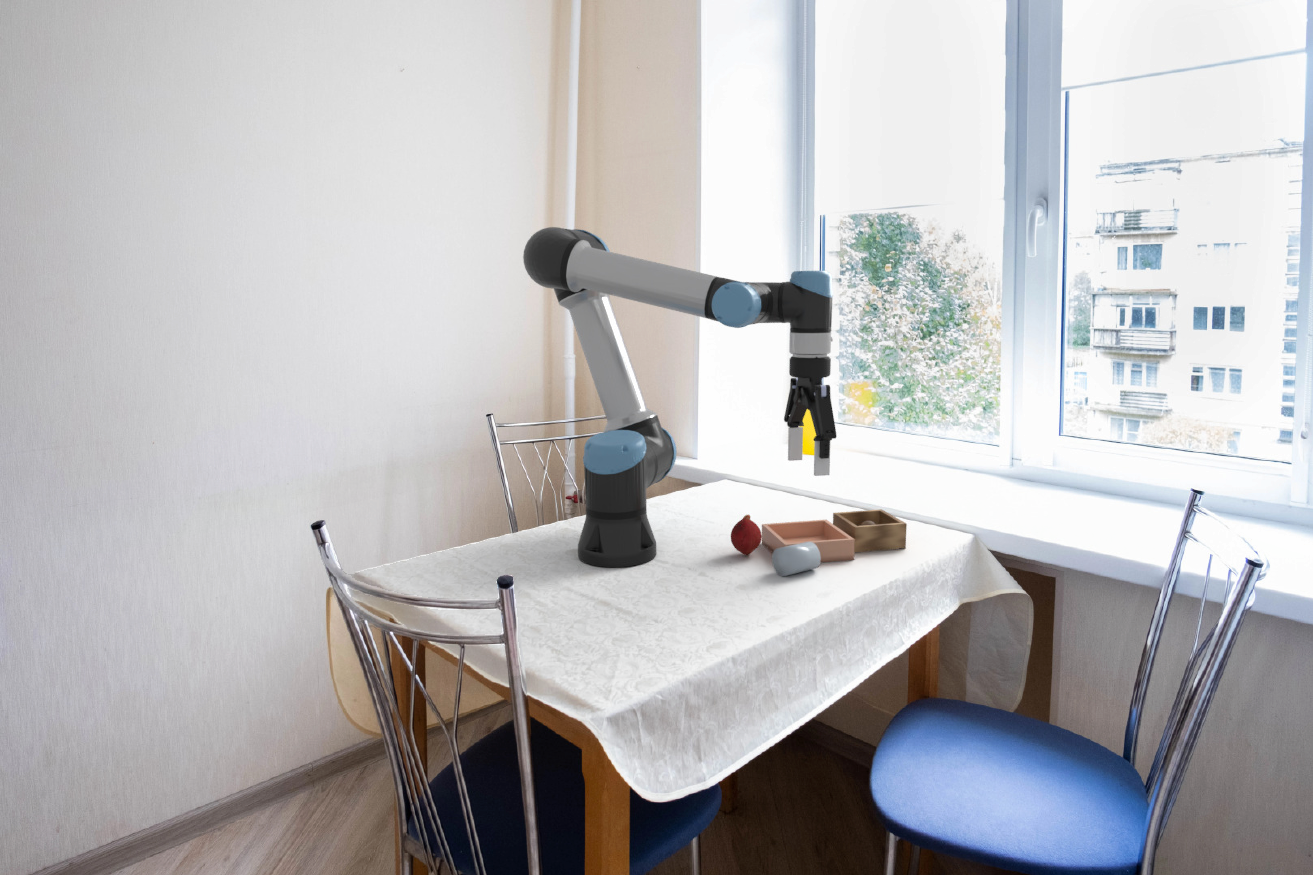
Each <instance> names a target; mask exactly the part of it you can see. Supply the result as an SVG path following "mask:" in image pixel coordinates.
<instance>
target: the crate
mask: <svg viewBox="0 0 1313 875" xmlns="http://www.w3.org/2000/svg"><path fill="white" fill-rule="evenodd" d="M864 521H872V522H874V523H875V524H876V525H864V526H860V525H861V524H862V523H863V522H864ZM832 524H833V525H835V526H836V527H838V528H839V529H841V530H842V531H843V532H845V533H846V534H848V535H849V536H851V537H852V538H853V539H855V546H854V553H866V552H877V551H889V550H891V549H892V550H900V549H899V548H904V549H907V548H906V546H907V526H908V524H907V523H906V522H904V521H903V520H901V519H899V518H897V517H896V516H894V515H892V514H890V513H889V512H887V511H885V510H883V508H881V509H871V510H870V509H869V510H853V511H841V512H840V511H839V512H833V513H832Z"/></svg>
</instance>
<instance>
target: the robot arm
mask: <svg viewBox="0 0 1313 875" xmlns="http://www.w3.org/2000/svg"><path fill="white" fill-rule="evenodd" d="M522 260H523V265H524V269H525V270H526V272H527V275H528V276H529V277H530V279H531V280H532V281H533V282H535V284H537V285H539V286H540V287H543V288H547V289H553V291H554V293H555V296H556V299H557V302H558V305H559V306H561V307H563V308H564V309H566V310H568V311H569V315H570V317H571V320H572V322H573V326H574V328H575V331H576V335H577V337H578V340H579V343H580V345H581V349H582V352H583V355H584V357H585V360H586V363H587V366H588V369H589V373H590V375H591V378H592V380H593V384H594V386H595V389H596V392H597V395H598V398H599V400H600V403H601V408H602V409H603V412H604V416H605V419H606V422H607V423H606V425H605V427H604V429H603V430H602V431H603V432H599V433H595V434H594V435H592V436H591V437H589V438H588V439H587V440H586V442H585V443H584V446H583V447H584V448H583V449H584V450H583V451H584V452H583V457H582V462H583V470H584V471H583V473H584V496H585V520H584V523H583V527H582V530H581V533H580V537H579V540H578V544H577V557H578V559H579V561H581V562H583V563H585V564H587V565H591V566H595V565H596V567H601V568H603V567H604V568H622V567H623V568H624V567H632V566H637V565H642V564H645V563H647V562H650V561H651V560H653V559H655V557H656V556H657V541H656V538H655V536H654V532H653V530H652V527H651V524H650V521H649V519H648V515H647V489H648V488H649V487H651V486H652V485H654V484H656V483H657V484H658V483H659V482H660V481H663V479H665V478H666V477H667V475H668V474H669V473H670V472H671V471H672V469H673V468H674V466H675V463H676V460H677V445H676V442H675V439H674V437H673V435H672V434H671V433H670V432H669V431H668V430H667V429H665V428H663V427H662V425H661V424H662V423H661V422H660V419H659V416H658V414H657V412H655V411H653V410H651V409H649V408H648V407H647V403H646V400H645V399H644V395H643V392H642V390H641V386H640V383H639V380H638V377H637V374H636V372H635V369H634V366H633V363H632V359H631V357H630V353H629V351H628V348H627V346H626V342H625V340H624V336H623V335H622V334H623V333H622V331H621V328H620V325H619V323H618V319H617V316H616V313H615V311H614V308H613V305H612V302H611V299H610V296H614V297H617V298H622V299H626V300H629V301H634V302H638V303H643V304H646V305H650V306H654V307H657V308H658V307H659V308H663V309H666V310H671V311H675V312H679V313H683V314H687V315H692V316H696V317H700V318H704V319H708V320H711V321H715V322H719V323H721V324H722V325H724V326H726V327H730V328H735V329H739V328H741V329H742V328H744V327H747V326H749V325H756V324H779V323H781V324H789V349H788V350H789V353H790V355H791V354H792V356H790V358H789V367H788V368H789V376H790V377H791V378H790V381H789V382H790V384H789V392H788V397H787V401H786V407H785V411H784V418H783V421H784V423H786V426H787V428H788V434H787V435H788V436H787V439H788V440H787V442H788V445H787V447H788V448H787V461H789V462H790V461H793V462H794V461H803V448H804V447H803V441H804V440H803V439H804V426H805V424H804V421H803V420H804V418H805V416H806V413H807V411H809V414H810V417H811V421H812V424H813V428H814V429H813V430H814V432H815V436H814V437H813V441H814V447H813V448H814V449H813V450H814V455H813V459H814V460H813V476H815V477H820V476H822V477H823V476H830V468H831V466H830V465H831V464H830V463H831V441H832V440H833V439H834V440H835V439H836V438H837V429H836V424H835V418H834V411H833V405H832V398H831V386H830V384H823V379H824V378H829V376H830V375H831V370H832V369H831V368H832V367H831V366H832V364H831V362H832V361H831V360H832V358H831V357H830V356H828V355H829V354H831V352H832V351H831V348H832V347H831V346H832V342H833V340H834V338H833V336H832V322H833V321H832V319H833V317H832V316H833V299H834V295H833V277H832V274H831V273H830V272H829V271H828V270H795V271H792V272H791V274H790V279H789V281H782V282H770V281H768V282H767V281H766V282H764V281H763V282H757V281H756V282H755V281H753V282H750V281H738V280H734V279H729V278H727V277H720V276H716V275H711V274H708V273H702V272H700V271H699V272H698V271H694V270H690V269H686V268H681V267H677V266H672V265H668V264H665V263H664V264H663V263H660V262H657V261H651V260H647V259H642V258H639V257H633V256H630V255H626V254H625V255H624V254H621V253H617V252H612V251H611V250H610V249H609V247H608V245H607V244H606V242H605V241H604V240H603V239H602V238H601V237H599V236H598V235H596V234H594V233H591V232H590V231H588V230H584V229H578V228H576V229H575V228H573V229H568V228H563V227H557V226H549V227H545V228H541V229H540V230H537V231H536V232H534V233H533V234H532V235H531V236H530V238H529V239H528V240H527V241H526V244H525V247H524V250H523V256H522Z"/></svg>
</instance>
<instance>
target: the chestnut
mask: <svg viewBox="0 0 1313 875" xmlns="http://www.w3.org/2000/svg"><path fill="white" fill-rule="evenodd" d="M864 525H876V524H875V523H874V522H872V521H864V522H863V523H862V524H861V525H860V526H864Z"/></svg>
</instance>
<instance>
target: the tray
mask: <svg viewBox="0 0 1313 875" xmlns="http://www.w3.org/2000/svg"><path fill="white" fill-rule="evenodd" d="M761 535H762V538H761V544H762V546H764V547H765V548H766V549H767V551H769V552H770V553H771V554H772V555H773V552H774V550H775V549H777V548H781V547H786V546H790V545H795V544H799V543H804V542H809V541H810V542H813V543H814V544H815V545H816V546H817V548H818V549H819V552H820V557H821V560H820V564H821V563H831V562H843V561H854V560H855V552H854V546H855V539H853V538H852V537H851V536H849V535H848V534H846V533H845V532H843V531H842V530H841V529H839V528H838V527H836V526H835V525H833V522H831V521H829V520H827V519H816V520H802V521H801V520H799V521H790V522H789V521H788V522H786V521H785V522H772V523H762V524H761Z"/></svg>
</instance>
